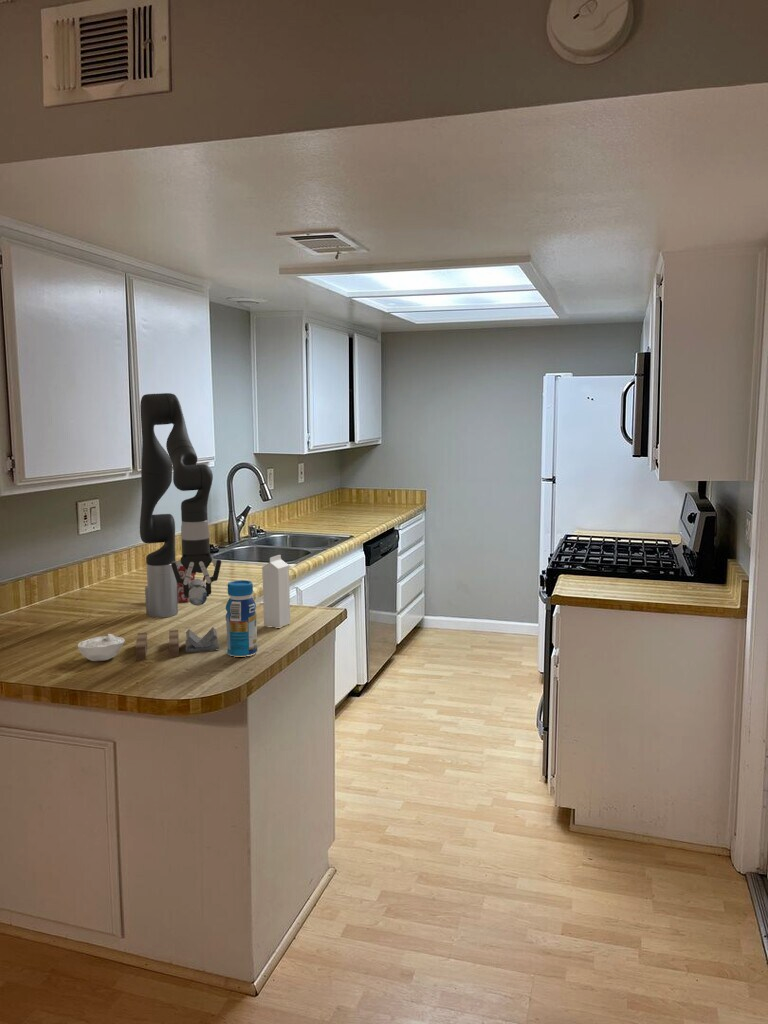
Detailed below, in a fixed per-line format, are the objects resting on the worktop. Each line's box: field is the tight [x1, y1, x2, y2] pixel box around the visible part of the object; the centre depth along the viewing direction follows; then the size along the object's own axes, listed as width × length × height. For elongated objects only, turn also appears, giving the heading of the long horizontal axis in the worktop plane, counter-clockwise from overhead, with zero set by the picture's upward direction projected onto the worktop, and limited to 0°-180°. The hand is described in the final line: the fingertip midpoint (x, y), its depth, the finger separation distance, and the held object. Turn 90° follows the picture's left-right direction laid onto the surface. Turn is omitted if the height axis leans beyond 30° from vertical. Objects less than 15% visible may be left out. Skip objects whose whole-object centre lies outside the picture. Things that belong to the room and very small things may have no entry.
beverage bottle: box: [225, 579, 258, 657], centre depth 209 cm, size 8×8×20 cm
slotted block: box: [134, 629, 180, 661], centre depth 213 cm, size 14×11×4 cm
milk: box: [261, 554, 291, 627], centre depth 236 cm, size 6×6×22 cm
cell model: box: [77, 633, 126, 662], centre depth 206 cm, size 10×12×7 cm
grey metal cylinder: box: [189, 578, 208, 607], centre depth 213 cm, size 12×5×5 cm, turn 14°
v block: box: [184, 627, 220, 654], centre depth 216 cm, size 9×9×4 cm
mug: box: [177, 564, 206, 604], centre depth 269 cm, size 13×9×14 cm
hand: (197, 596), depth 213 cm, fingers closed on grey metal cylinder, 4 cm apart
